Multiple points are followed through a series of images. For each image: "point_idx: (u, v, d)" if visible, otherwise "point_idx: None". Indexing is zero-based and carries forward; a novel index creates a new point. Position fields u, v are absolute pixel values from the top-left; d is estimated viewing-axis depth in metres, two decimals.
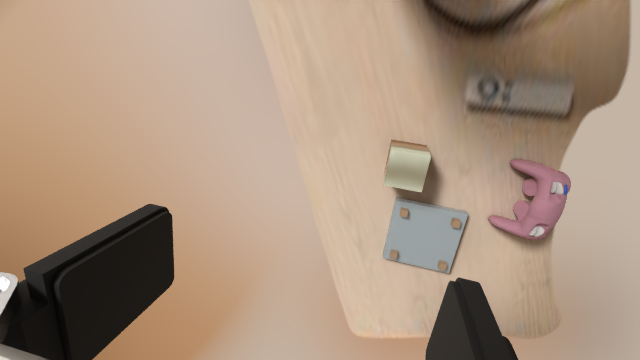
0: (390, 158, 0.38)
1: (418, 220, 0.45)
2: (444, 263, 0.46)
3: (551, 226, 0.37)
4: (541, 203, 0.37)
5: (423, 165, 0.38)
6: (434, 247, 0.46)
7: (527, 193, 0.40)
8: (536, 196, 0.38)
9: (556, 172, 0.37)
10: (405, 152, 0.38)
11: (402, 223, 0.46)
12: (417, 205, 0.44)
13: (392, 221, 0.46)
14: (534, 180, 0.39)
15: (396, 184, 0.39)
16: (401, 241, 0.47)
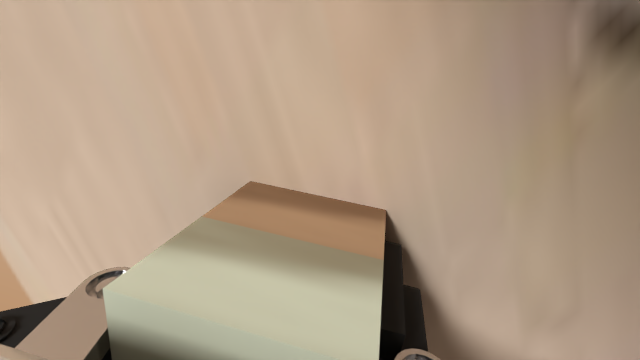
0: (116, 341, 0.06)
1: None
2: None
3: None
4: None
5: None
6: None
7: None
8: None
9: None
10: (195, 319, 0.05)
11: None
12: None
13: None
14: None
15: None
16: None
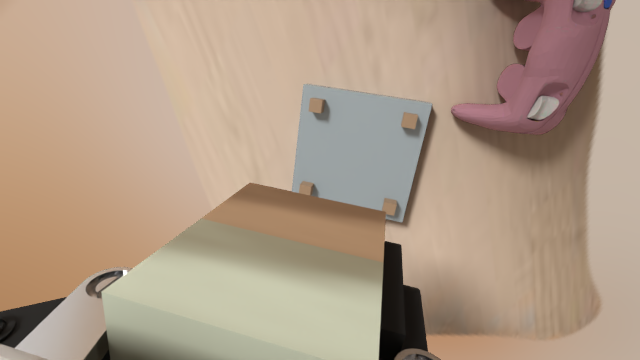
0: (115, 344, 0.06)
1: (344, 121, 0.25)
2: (392, 202, 0.25)
3: (574, 89, 0.17)
4: (553, 34, 0.17)
5: None
6: (375, 174, 0.26)
7: (523, 45, 0.20)
8: (542, 28, 0.18)
9: None
10: (194, 322, 0.05)
11: (318, 130, 0.25)
12: (341, 91, 0.24)
13: (300, 127, 0.26)
14: (537, 12, 0.20)
15: None
16: (319, 165, 0.26)
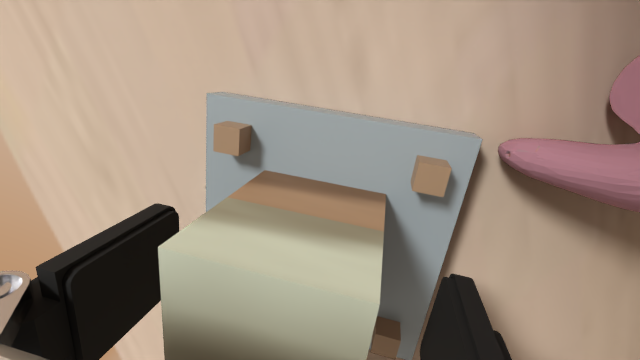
0: (166, 292, 0.07)
1: (292, 169, 0.12)
2: (392, 332, 0.12)
3: None
4: None
5: (341, 346, 0.06)
6: None
7: None
8: None
9: None
10: (234, 269, 0.06)
11: (242, 185, 0.13)
12: (282, 109, 0.11)
13: (209, 178, 0.13)
14: None
15: None
16: None
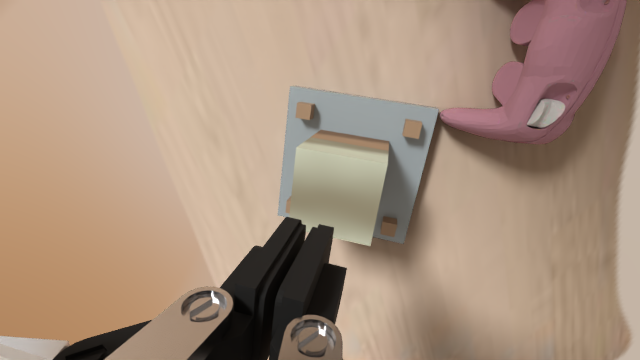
0: (296, 168, 0.17)
1: (337, 129, 0.21)
2: (392, 221, 0.22)
3: (584, 91, 0.14)
4: (557, 24, 0.14)
5: (372, 185, 0.16)
6: None
7: (521, 39, 0.17)
8: (543, 17, 0.15)
9: None
10: (328, 155, 0.16)
11: None
12: (333, 95, 0.21)
13: (287, 135, 0.22)
14: (537, 0, 0.17)
15: None
16: None
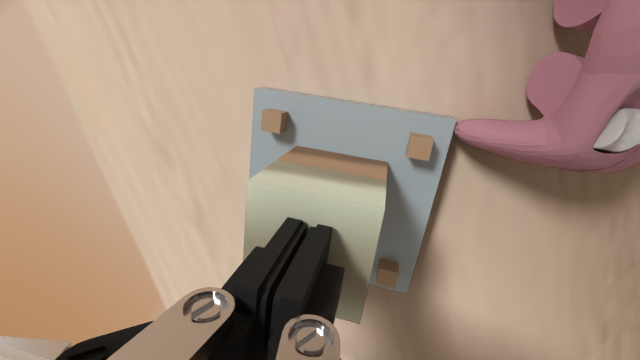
0: (249, 212, 0.11)
1: (318, 145, 0.16)
2: (392, 267, 0.17)
3: None
4: None
5: (361, 240, 0.10)
6: None
7: (573, 20, 0.12)
8: None
9: None
10: (295, 193, 0.10)
11: (279, 157, 0.17)
12: (311, 99, 0.15)
13: (253, 153, 0.17)
14: None
15: None
16: None
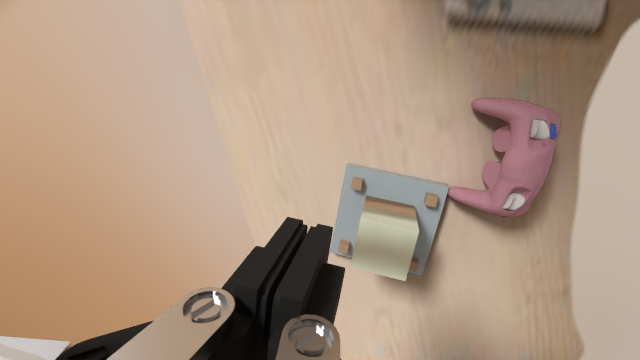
0: (359, 230, 0.26)
1: (378, 195, 0.31)
2: (415, 260, 0.31)
3: (535, 191, 0.24)
4: (517, 155, 0.24)
5: (408, 243, 0.25)
6: None
7: (499, 148, 0.27)
8: (509, 146, 0.24)
9: (537, 107, 0.24)
10: (381, 223, 0.25)
11: (356, 200, 0.32)
12: (376, 173, 0.30)
13: (342, 197, 0.32)
14: (507, 127, 0.26)
15: (368, 268, 0.27)
16: (355, 228, 0.33)
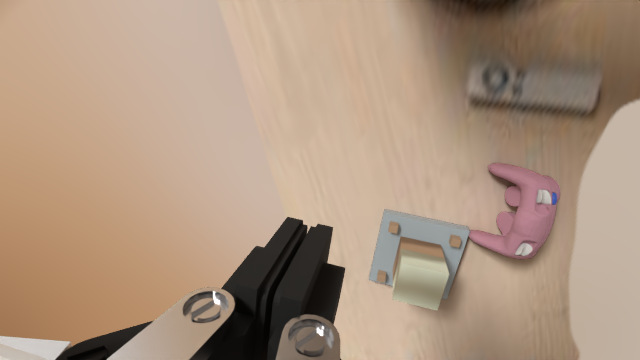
0: (401, 272, 0.33)
1: (410, 236, 0.38)
2: None
3: (540, 243, 0.31)
4: (526, 216, 0.30)
5: (440, 283, 0.32)
6: None
7: (511, 203, 0.34)
8: (520, 207, 0.31)
9: (542, 177, 0.30)
10: (418, 267, 0.32)
11: (391, 240, 0.38)
12: (409, 219, 0.37)
13: (380, 237, 0.39)
14: (517, 187, 0.33)
15: (407, 300, 0.34)
16: (390, 261, 0.39)
